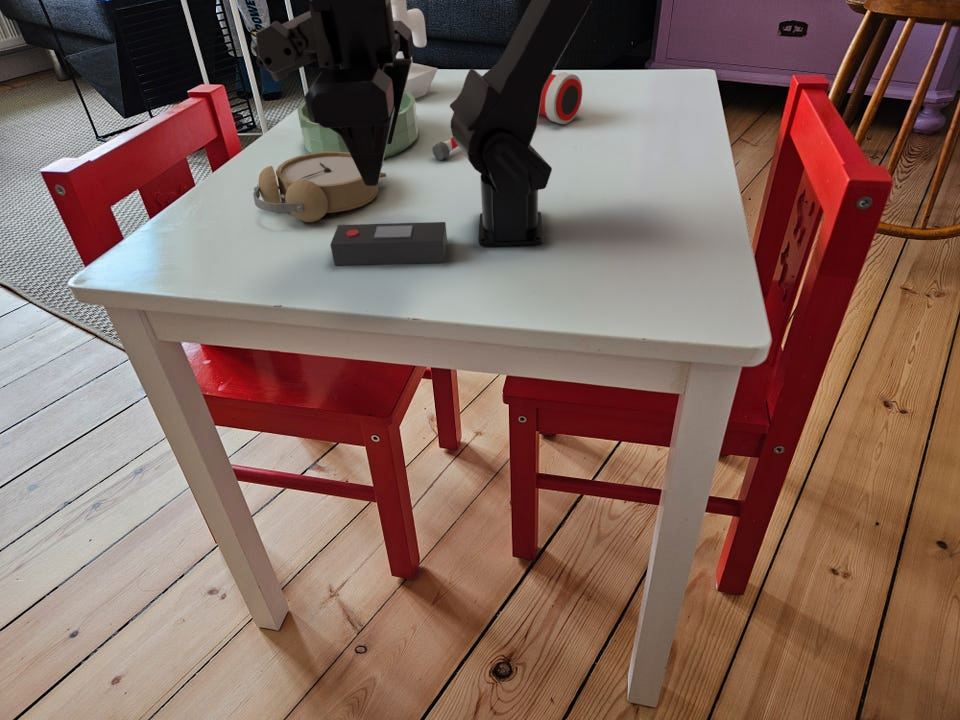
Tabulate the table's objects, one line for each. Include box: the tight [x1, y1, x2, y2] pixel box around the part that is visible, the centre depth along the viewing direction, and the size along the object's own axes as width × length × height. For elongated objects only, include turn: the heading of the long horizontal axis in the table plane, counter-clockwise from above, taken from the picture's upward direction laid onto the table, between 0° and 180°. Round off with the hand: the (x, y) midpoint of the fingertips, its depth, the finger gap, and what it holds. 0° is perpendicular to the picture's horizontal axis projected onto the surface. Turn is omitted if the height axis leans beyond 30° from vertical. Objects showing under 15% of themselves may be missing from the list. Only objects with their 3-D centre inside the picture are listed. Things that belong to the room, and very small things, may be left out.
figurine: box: [391, 0, 439, 100], centre depth 104 cm, size 7×9×15 cm
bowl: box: [296, 91, 420, 159], centre depth 93 cm, size 15×15×5 cm
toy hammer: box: [431, 72, 583, 161], centre depth 93 cm, size 23×12×6 cm, turn 137°
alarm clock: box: [252, 151, 387, 223], centre depth 80 cm, size 11×5×15 cm
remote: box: [330, 221, 448, 266], centre depth 70 cm, size 11×4×2 cm, turn 88°
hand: (379, 163), depth 65 cm, fingers open, 9 cm apart
